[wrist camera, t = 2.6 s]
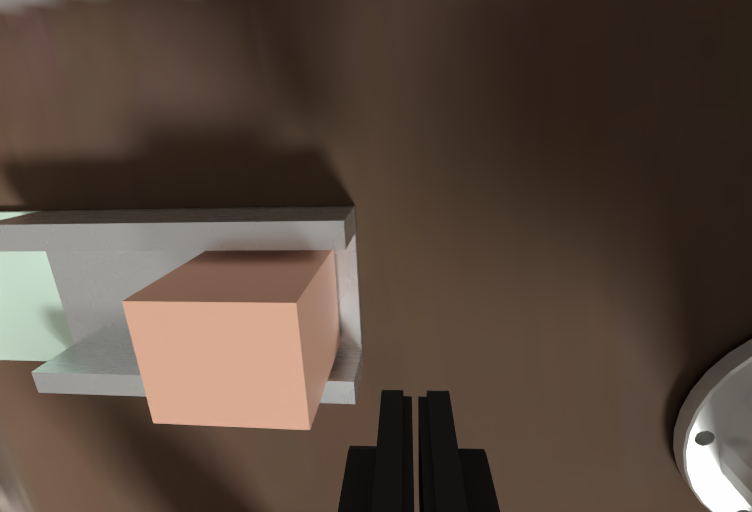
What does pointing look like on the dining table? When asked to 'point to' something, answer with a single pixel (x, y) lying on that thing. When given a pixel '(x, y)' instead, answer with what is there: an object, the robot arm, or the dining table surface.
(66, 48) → the dining table surface
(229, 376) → the block
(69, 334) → the pad
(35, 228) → the chute
